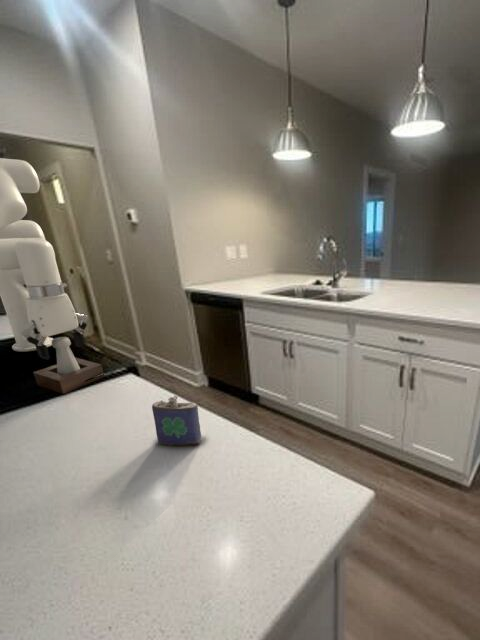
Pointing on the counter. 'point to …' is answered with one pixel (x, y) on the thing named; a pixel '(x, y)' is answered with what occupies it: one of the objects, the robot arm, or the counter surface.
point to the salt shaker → (64, 356)
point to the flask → (177, 423)
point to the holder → (69, 377)
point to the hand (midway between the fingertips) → (63, 352)
